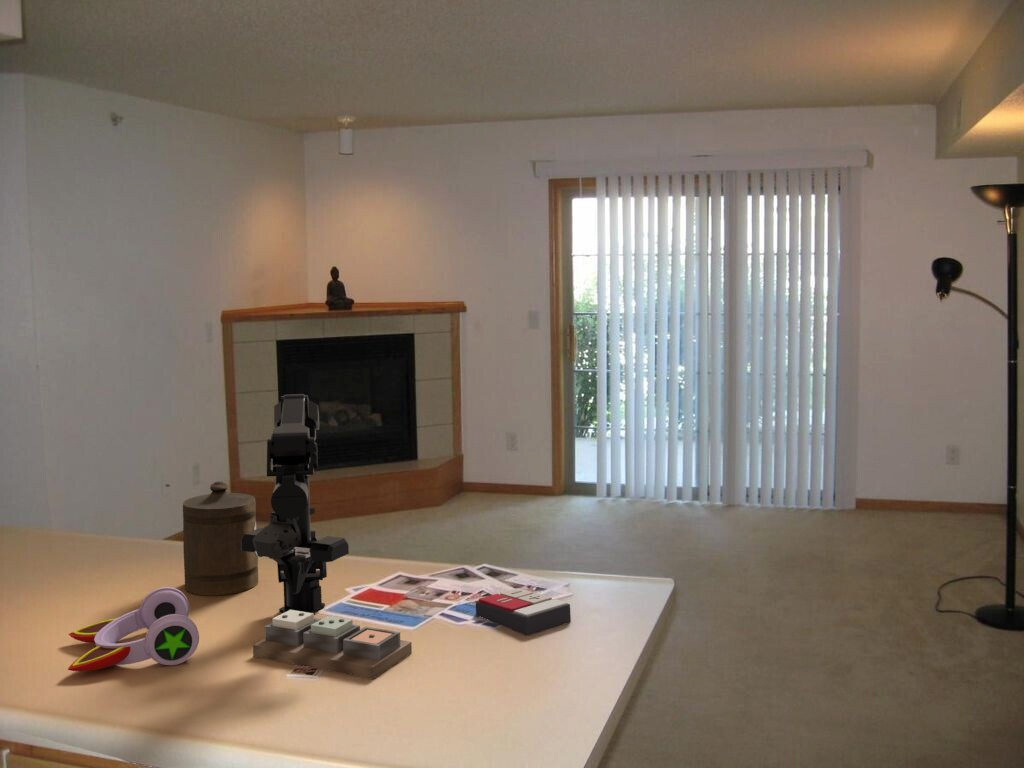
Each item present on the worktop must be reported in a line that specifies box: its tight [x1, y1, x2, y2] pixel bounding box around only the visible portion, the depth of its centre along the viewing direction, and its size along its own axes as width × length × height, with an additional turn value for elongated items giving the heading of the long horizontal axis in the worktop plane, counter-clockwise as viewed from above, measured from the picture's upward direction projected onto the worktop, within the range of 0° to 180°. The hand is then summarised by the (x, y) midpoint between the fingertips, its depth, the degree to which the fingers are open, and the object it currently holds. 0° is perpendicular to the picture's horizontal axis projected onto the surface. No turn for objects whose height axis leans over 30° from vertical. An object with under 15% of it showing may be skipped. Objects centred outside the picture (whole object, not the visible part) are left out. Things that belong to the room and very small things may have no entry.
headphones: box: [67, 586, 200, 672], centre depth 172 cm, size 20×10×20 cm
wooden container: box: [182, 480, 259, 597], centre depth 208 cm, size 15×15×22 cm
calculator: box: [475, 587, 572, 637], centre depth 187 cm, size 11×4×15 cm
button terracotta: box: [351, 630, 393, 644], centre depth 166 cm, size 5×5×2 cm
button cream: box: [271, 610, 315, 630], centre depth 172 cm, size 5×5×2 cm
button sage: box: [311, 615, 354, 637], centre depth 169 cm, size 5×5×2 cm
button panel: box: [252, 617, 413, 680], centre depth 169 cm, size 24×12×4 cm, turn 65°
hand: (295, 592), depth 172 cm, fingers closed
